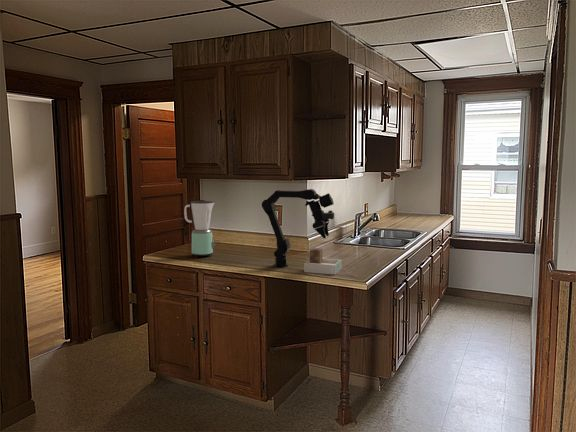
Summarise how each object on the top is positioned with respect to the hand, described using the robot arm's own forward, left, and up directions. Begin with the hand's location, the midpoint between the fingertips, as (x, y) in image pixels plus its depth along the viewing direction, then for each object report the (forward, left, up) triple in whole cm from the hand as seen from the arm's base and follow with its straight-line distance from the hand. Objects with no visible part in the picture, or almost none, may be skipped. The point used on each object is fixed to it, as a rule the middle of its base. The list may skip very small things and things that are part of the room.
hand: (326, 237), depth 268 cm
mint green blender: (-73, -41, -18) cm, 85 cm away
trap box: (+2, -4, -18) cm, 18 cm away
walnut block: (-3, -5, -15) cm, 16 cm away
